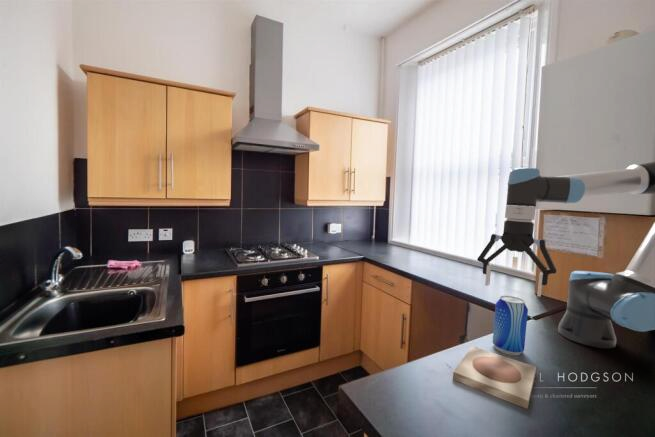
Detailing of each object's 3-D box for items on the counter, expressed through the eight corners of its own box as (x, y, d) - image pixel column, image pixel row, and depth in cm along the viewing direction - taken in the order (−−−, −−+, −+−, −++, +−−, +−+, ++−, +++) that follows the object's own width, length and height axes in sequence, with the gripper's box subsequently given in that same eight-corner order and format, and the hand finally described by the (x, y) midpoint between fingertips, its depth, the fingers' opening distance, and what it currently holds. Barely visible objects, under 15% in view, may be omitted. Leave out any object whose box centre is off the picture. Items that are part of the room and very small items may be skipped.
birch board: (535, 373, 81) (536, 365, 81) (527, 409, 67) (528, 398, 67) (471, 352, 91) (472, 344, 91) (452, 379, 77) (453, 370, 77)
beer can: (528, 358, 89) (533, 305, 88) (497, 354, 90) (502, 302, 89) (517, 345, 97) (521, 296, 96) (488, 341, 99) (492, 293, 97)
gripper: (471, 217, 95) (465, 283, 97) (572, 225, 80) (563, 303, 82) (477, 216, 101) (471, 278, 103) (572, 224, 86) (564, 297, 87)
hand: (512, 289), depth 92 cm, fingers open, 13 cm apart
